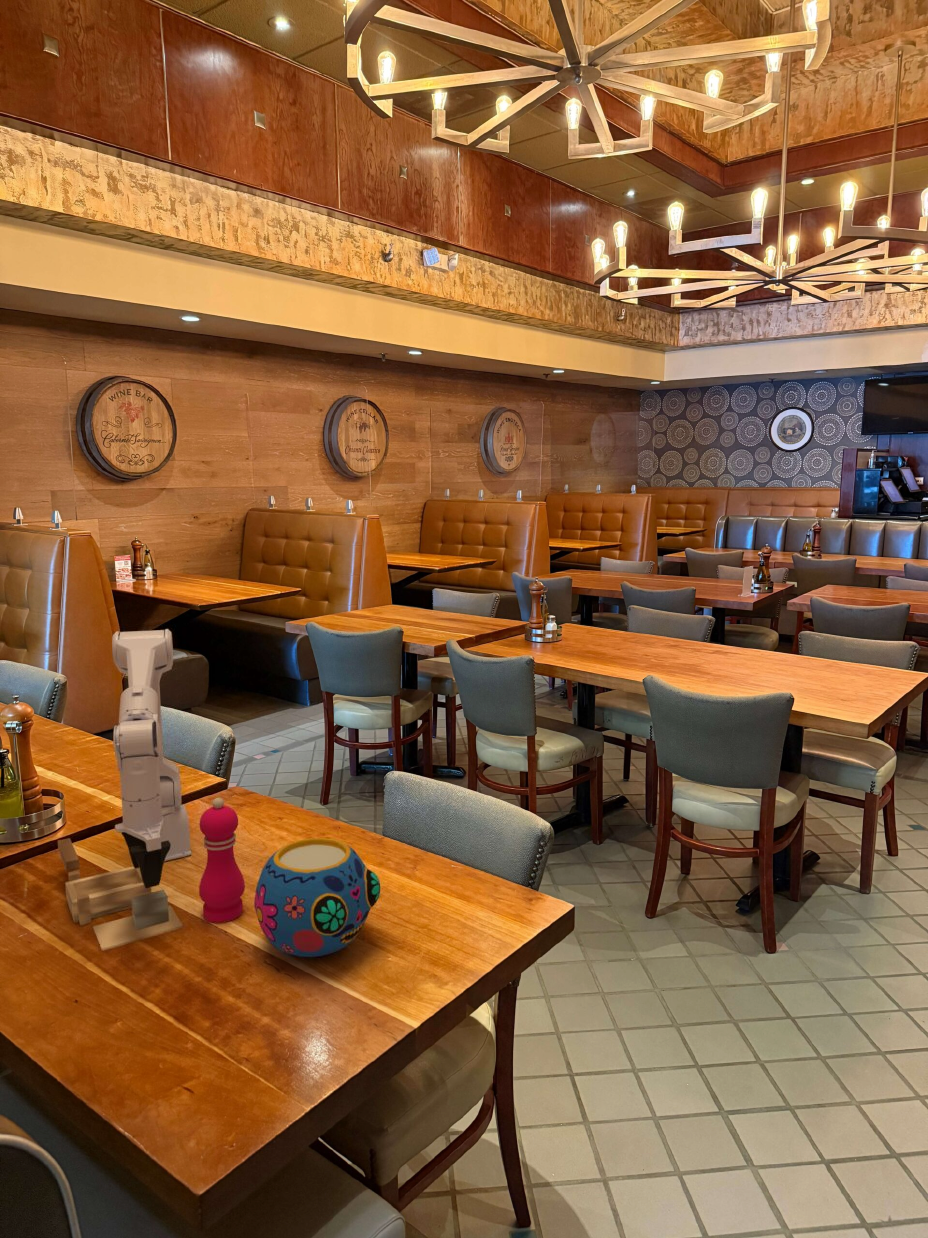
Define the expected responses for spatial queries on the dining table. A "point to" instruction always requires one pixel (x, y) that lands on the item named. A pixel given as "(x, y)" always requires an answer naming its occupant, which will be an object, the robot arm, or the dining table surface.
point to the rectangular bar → (68, 855)
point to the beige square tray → (103, 893)
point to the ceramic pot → (314, 897)
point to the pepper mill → (220, 865)
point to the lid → (139, 921)
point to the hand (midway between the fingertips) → (146, 876)
